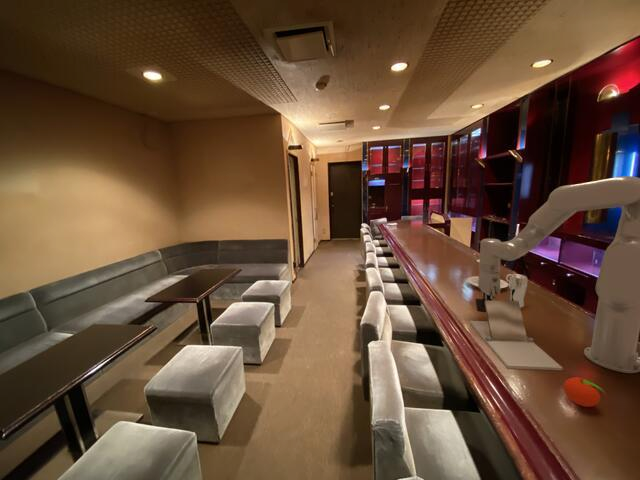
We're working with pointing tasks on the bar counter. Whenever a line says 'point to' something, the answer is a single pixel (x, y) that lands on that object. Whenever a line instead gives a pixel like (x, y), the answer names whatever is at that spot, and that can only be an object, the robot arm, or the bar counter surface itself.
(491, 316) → the flip plaque
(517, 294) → the beer glass
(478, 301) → the smartphone
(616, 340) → the robot arm
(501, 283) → the candlestick
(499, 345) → the plaque base
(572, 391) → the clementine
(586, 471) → the bar counter surface
